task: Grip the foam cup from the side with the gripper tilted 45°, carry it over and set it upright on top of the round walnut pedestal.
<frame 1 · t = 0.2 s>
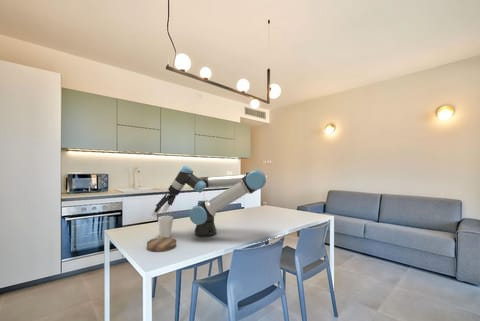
hand: (158, 213, 147), 15 cm above the table, tool tilted 35°, fingers open, 13 cm apart
foam cup: (165, 237, 147), on the table
walnut pedestal: (161, 246, 129), on the table
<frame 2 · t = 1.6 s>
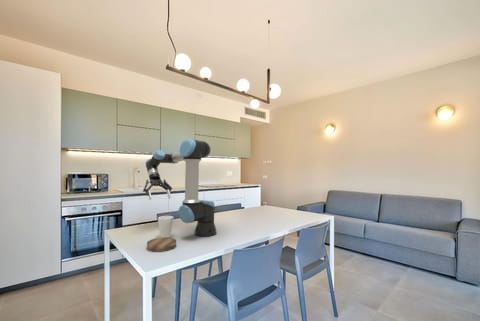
hand: (160, 198, 157), 24 cm above the table, tool tilted 45°, fingers open, 13 cm apart
nothing on the table moved.
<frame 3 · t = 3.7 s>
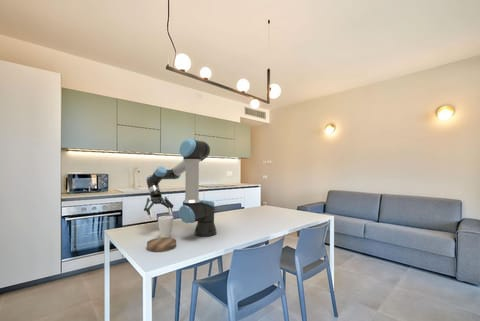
hand: (161, 217, 153), 12 cm above the table, tool tilted 45°, fingers open, 13 cm apart
nothing on the table moved.
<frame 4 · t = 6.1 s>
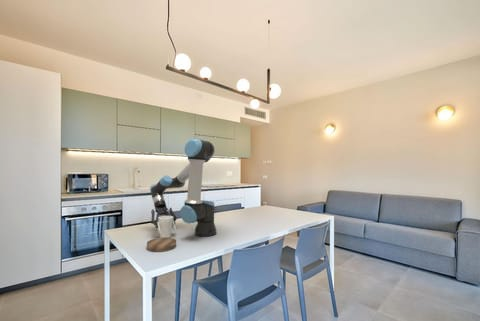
hand: (167, 230, 145), 5 cm above the table, tool tilted 45°, fingers closed on foam cup, 9 cm apart
foam cup: (165, 237, 147), on the table, touching gripper
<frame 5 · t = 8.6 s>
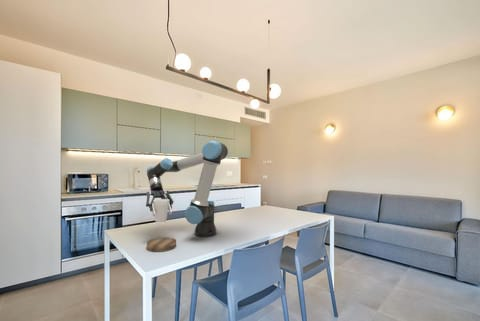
hand: (162, 214, 137), 17 cm above the table, tool tilted 45°, fingers closed on foam cup, 9 cm apart
foam cup: (160, 221, 139), point 12 cm above the table, touching gripper
when the fingers open (9 cm above the table, at t = 11.3 s): foam cup drops 1 cm, resting on walnut pedestal.
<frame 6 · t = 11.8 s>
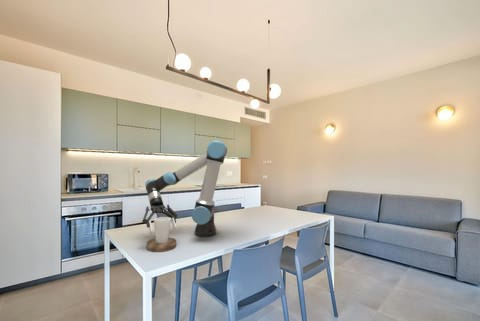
hand: (163, 230, 128), 10 cm above the table, tool tilted 45°, fingers open, 13 cm apart
foam cup: (161, 241, 129), point 3 cm above the table, touching walnut pedestal
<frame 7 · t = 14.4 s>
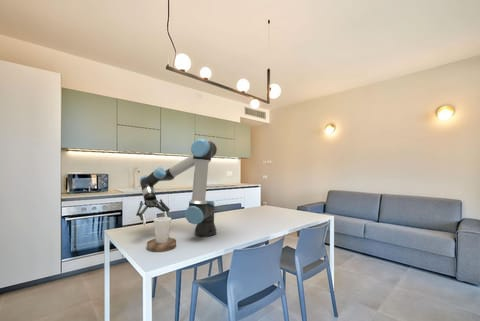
hand: (156, 222, 138), 12 cm above the table, tool tilted 45°, fingers open, 13 cm apart
nothing on the table moved.
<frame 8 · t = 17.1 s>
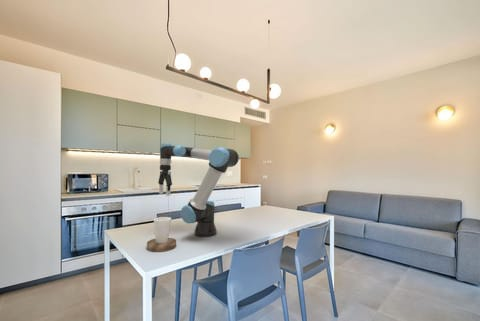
hand: (164, 194, 159), 27 cm above the table, tool pointing down, fingers open, 13 cm apart
nothing on the table moved.
at the end: foam cup inside the target area on the walnut pedestal (0.2 cm from its centre), point 2.8 cm above the walnut pedestal's base; foam cup tilted 0°; the gripper is holding nothing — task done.
